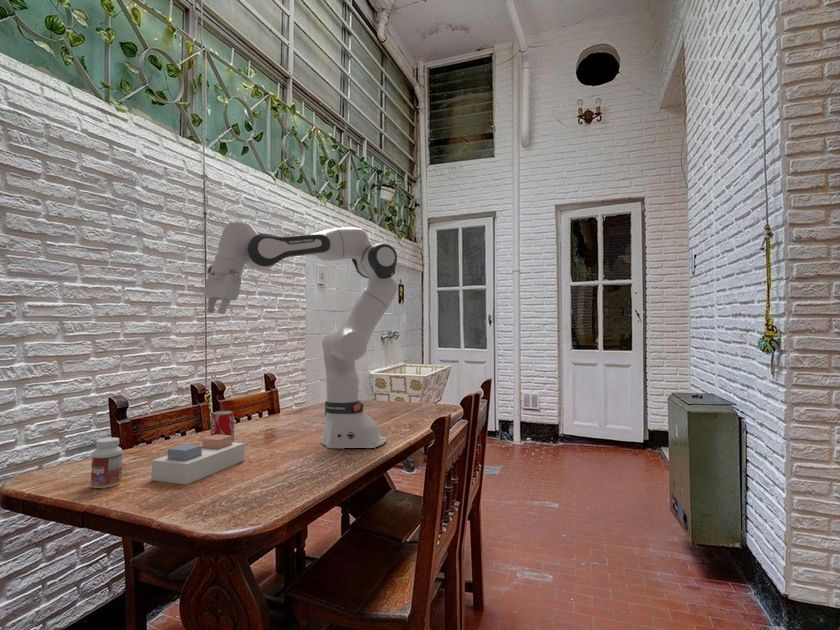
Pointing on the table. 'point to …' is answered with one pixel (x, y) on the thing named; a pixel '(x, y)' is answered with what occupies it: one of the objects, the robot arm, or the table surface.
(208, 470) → the key box
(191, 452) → the slate key
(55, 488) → the table surface
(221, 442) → the terracotta key
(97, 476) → the pill bottle
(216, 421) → the soda can
